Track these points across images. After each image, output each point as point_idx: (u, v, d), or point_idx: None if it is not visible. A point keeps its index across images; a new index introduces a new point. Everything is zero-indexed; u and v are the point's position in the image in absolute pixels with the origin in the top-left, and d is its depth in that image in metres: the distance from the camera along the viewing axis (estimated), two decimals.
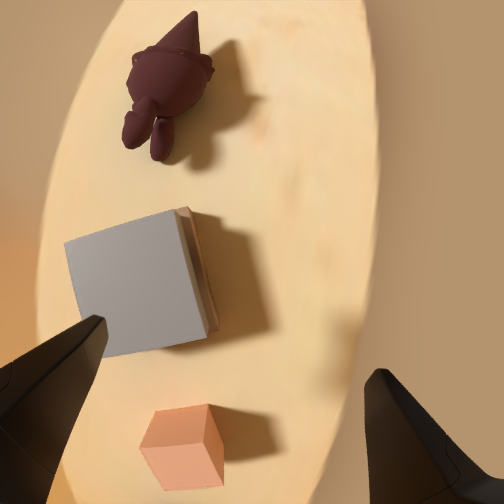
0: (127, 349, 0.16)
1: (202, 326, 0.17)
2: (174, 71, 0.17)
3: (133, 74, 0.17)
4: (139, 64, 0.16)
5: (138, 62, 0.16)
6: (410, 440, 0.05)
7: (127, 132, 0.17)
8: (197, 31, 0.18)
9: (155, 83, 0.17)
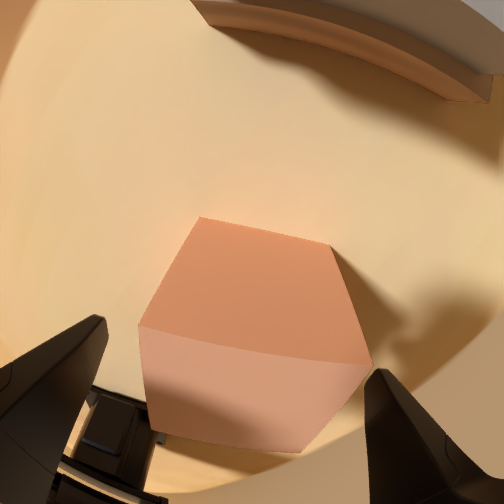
0: None
1: None
2: None
3: None
4: None
5: None
6: (410, 440, 0.05)
7: None
8: None
9: None
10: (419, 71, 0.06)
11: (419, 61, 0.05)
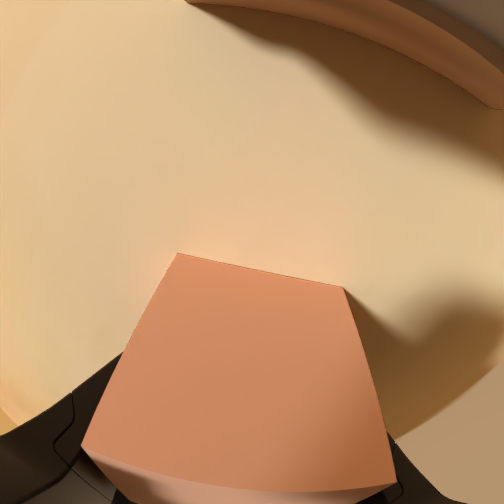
0: None
1: None
2: None
3: None
4: None
5: None
6: None
7: None
8: None
9: None
10: (468, 69, 0.04)
11: (476, 56, 0.03)
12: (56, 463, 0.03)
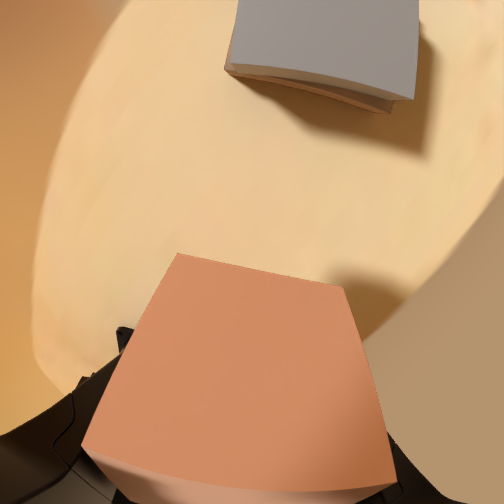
0: (297, 62, 0.09)
1: (413, 84, 0.09)
2: None
3: None
4: None
5: None
6: None
7: None
8: None
9: None
10: (347, 100, 0.13)
11: (343, 96, 0.13)
12: (56, 463, 0.03)
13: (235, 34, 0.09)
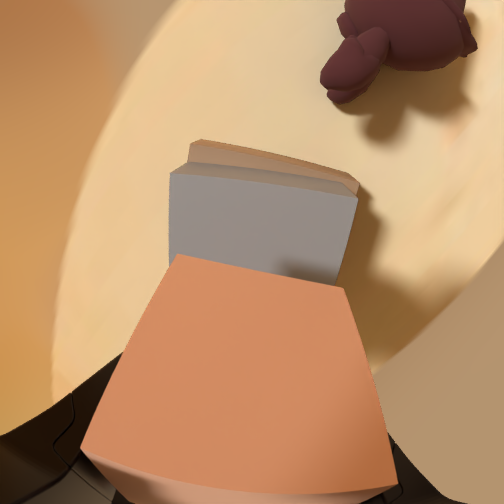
0: None
1: None
2: (441, 35, 0.07)
3: None
4: None
5: None
6: None
7: (339, 69, 0.09)
8: None
9: (410, 29, 0.08)
10: None
11: None
12: (56, 463, 0.03)
13: None
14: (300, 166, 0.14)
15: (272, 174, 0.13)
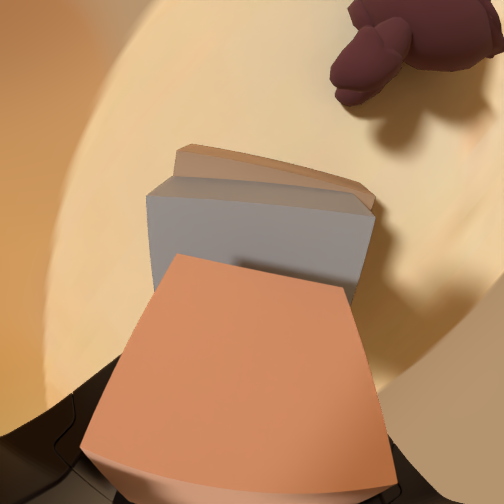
0: None
1: None
2: (471, 31, 0.05)
3: None
4: None
5: None
6: None
7: (354, 65, 0.07)
8: None
9: (437, 21, 0.06)
10: None
11: None
12: (57, 464, 0.03)
13: None
14: (307, 177, 0.12)
15: (270, 188, 0.11)
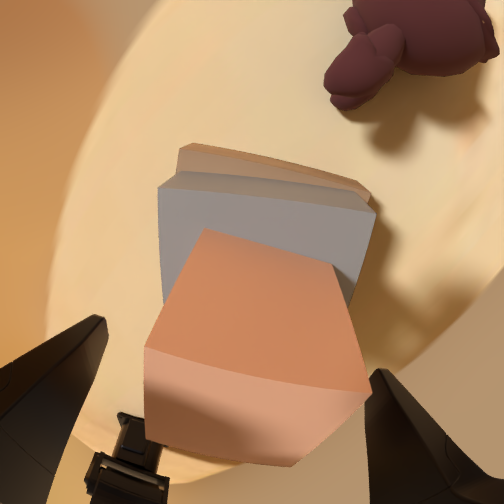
0: None
1: None
2: (463, 37, 0.06)
3: None
4: None
5: None
6: (410, 440, 0.05)
7: (347, 71, 0.08)
8: None
9: (429, 28, 0.06)
10: None
11: None
12: None
13: None
14: (304, 174, 0.12)
15: (276, 184, 0.12)
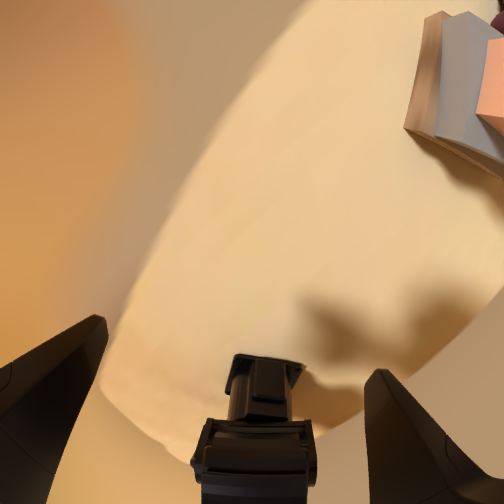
0: (495, 151, 0.10)
1: None
2: None
3: None
4: None
5: None
6: (410, 440, 0.05)
7: None
8: None
9: None
10: (483, 167, 0.14)
11: (486, 167, 0.14)
12: None
13: (467, 118, 0.10)
14: None
15: None
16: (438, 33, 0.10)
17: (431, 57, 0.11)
